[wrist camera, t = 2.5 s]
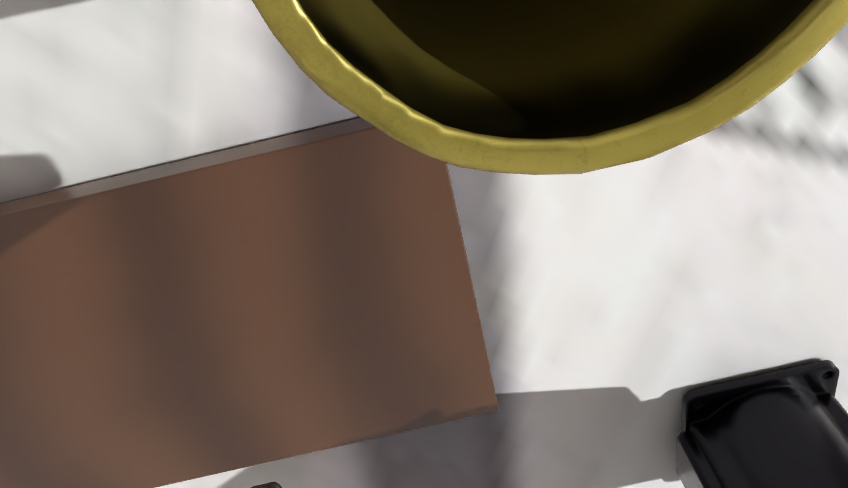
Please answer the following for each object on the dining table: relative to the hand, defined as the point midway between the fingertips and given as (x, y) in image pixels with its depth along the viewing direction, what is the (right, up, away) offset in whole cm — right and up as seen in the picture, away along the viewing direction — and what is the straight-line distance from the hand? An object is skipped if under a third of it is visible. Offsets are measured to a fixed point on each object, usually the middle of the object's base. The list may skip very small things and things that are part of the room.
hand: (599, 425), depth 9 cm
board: (-11, -1, +15) cm, 18 cm away
